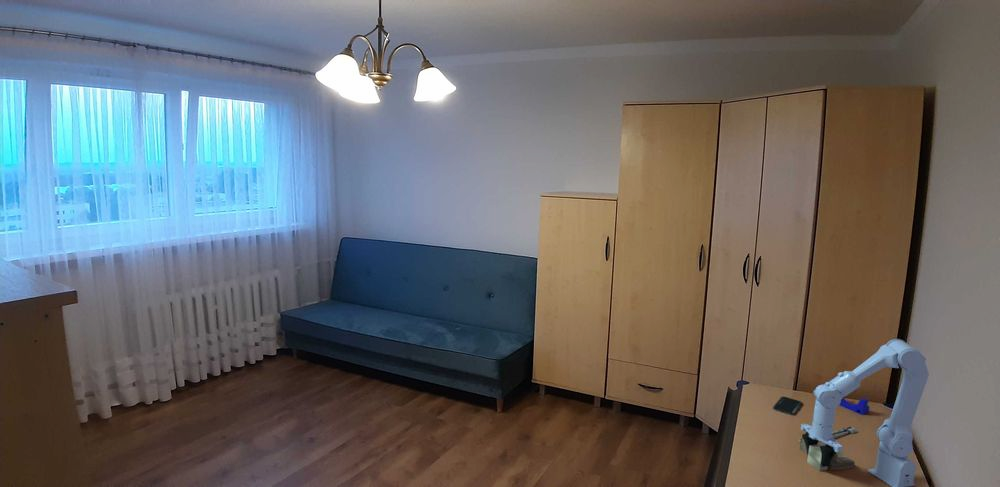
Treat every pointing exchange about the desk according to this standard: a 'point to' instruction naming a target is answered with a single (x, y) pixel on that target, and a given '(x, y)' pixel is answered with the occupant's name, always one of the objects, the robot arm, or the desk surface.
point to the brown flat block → (834, 459)
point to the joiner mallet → (816, 457)
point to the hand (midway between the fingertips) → (817, 461)
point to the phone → (787, 405)
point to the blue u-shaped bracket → (856, 406)
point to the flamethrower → (848, 430)
